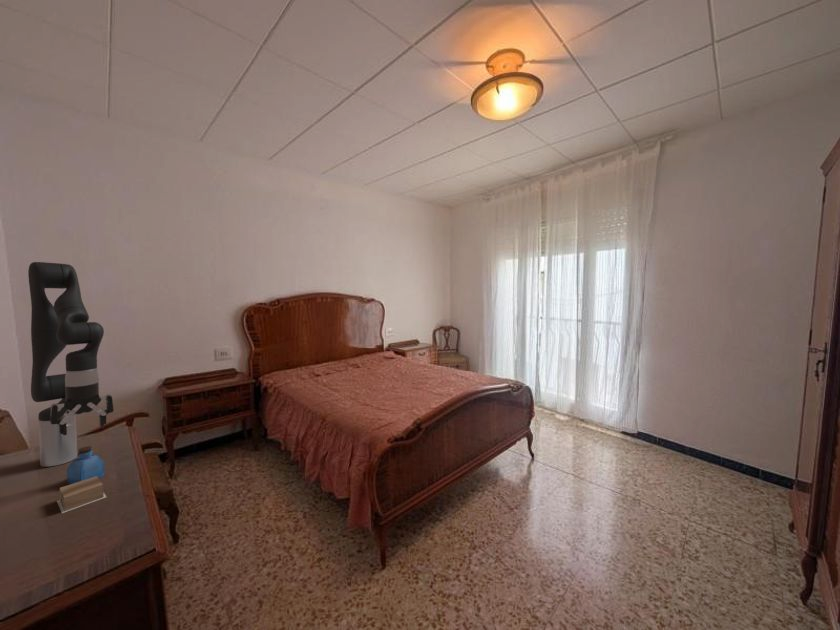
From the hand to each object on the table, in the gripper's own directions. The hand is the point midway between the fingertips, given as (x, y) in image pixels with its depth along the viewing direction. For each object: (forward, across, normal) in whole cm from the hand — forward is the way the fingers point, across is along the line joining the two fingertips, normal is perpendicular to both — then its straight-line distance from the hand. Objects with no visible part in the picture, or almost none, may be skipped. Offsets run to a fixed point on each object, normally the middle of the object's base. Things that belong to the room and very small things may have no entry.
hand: (83, 430), depth 105 cm
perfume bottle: (+19, 0, -1) cm, 19 cm away
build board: (+18, +3, +13) cm, 23 cm away
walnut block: (+17, +3, +13) cm, 22 cm away
